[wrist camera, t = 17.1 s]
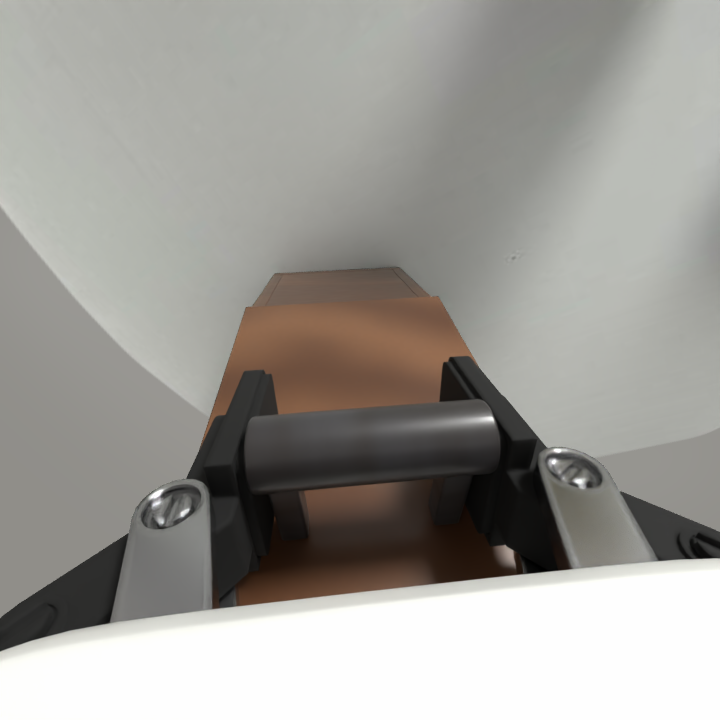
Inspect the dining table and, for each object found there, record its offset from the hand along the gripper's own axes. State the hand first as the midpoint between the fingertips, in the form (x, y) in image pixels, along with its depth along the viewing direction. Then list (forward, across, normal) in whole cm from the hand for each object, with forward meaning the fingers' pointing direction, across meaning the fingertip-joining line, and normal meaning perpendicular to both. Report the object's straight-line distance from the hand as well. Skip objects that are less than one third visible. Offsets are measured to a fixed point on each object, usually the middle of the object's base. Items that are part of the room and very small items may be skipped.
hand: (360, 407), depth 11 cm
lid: (+3, 0, +2) cm, 3 cm away
